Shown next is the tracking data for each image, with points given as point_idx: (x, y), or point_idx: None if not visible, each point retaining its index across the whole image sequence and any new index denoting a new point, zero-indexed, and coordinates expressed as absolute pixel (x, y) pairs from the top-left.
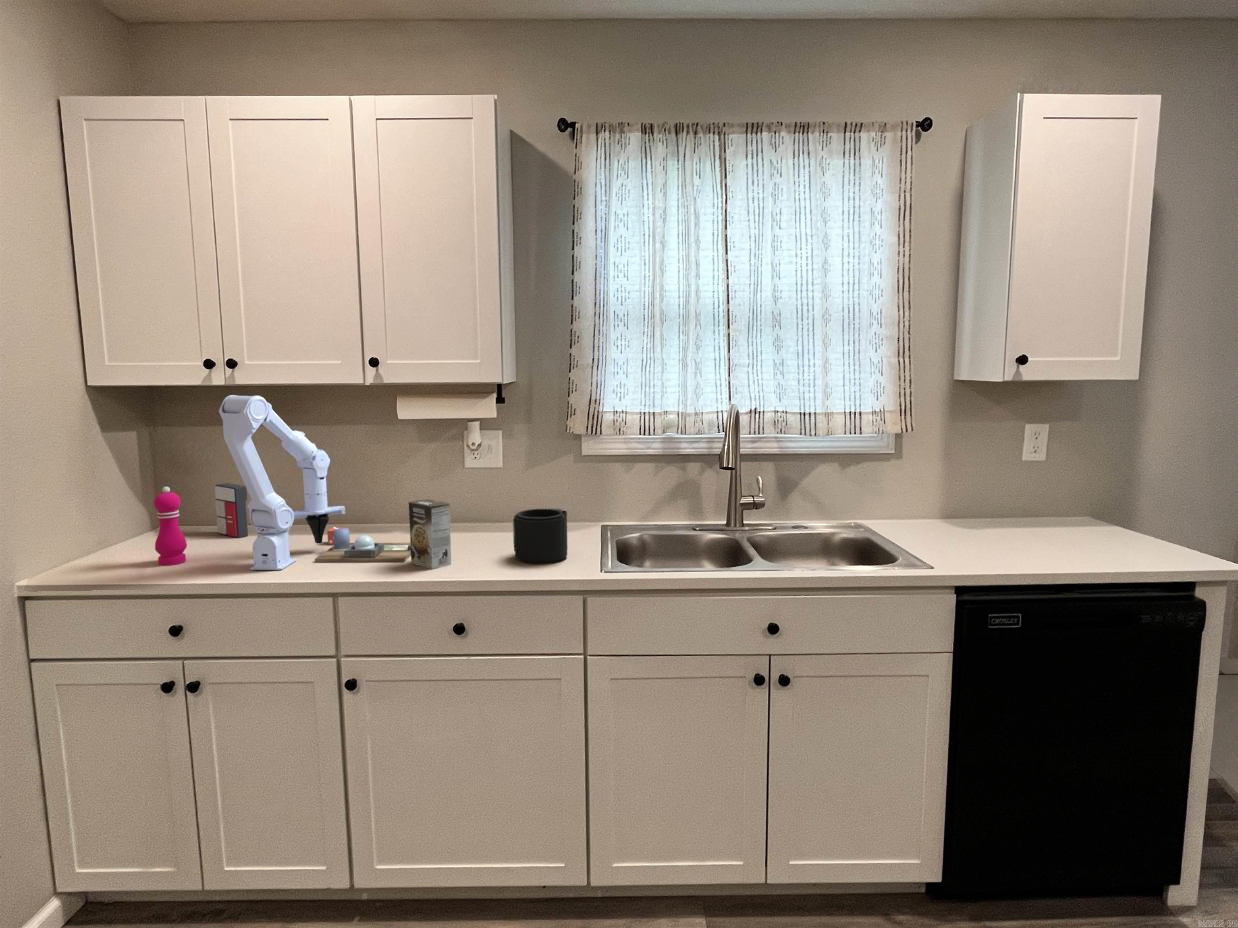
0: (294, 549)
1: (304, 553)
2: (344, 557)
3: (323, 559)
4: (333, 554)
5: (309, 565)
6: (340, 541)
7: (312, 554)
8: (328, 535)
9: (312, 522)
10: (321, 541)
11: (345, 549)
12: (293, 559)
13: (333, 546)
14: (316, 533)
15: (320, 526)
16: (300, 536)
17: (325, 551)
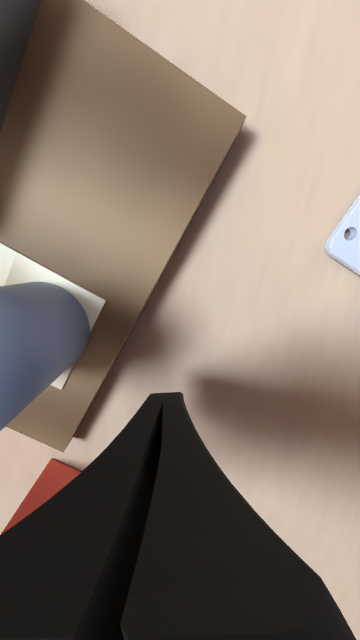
0: (261, 479)
1: (240, 387)
2: (43, 17)
3: (193, 82)
4: (111, 181)
5: (290, 62)
6: (16, 291)
7: (210, 347)
8: None
9: (271, 577)
10: (150, 397)
11: (27, 273)
12: (346, 240)
13: (91, 391)
14: (182, 434)
15: (124, 494)
16: None
17: (147, 297)
